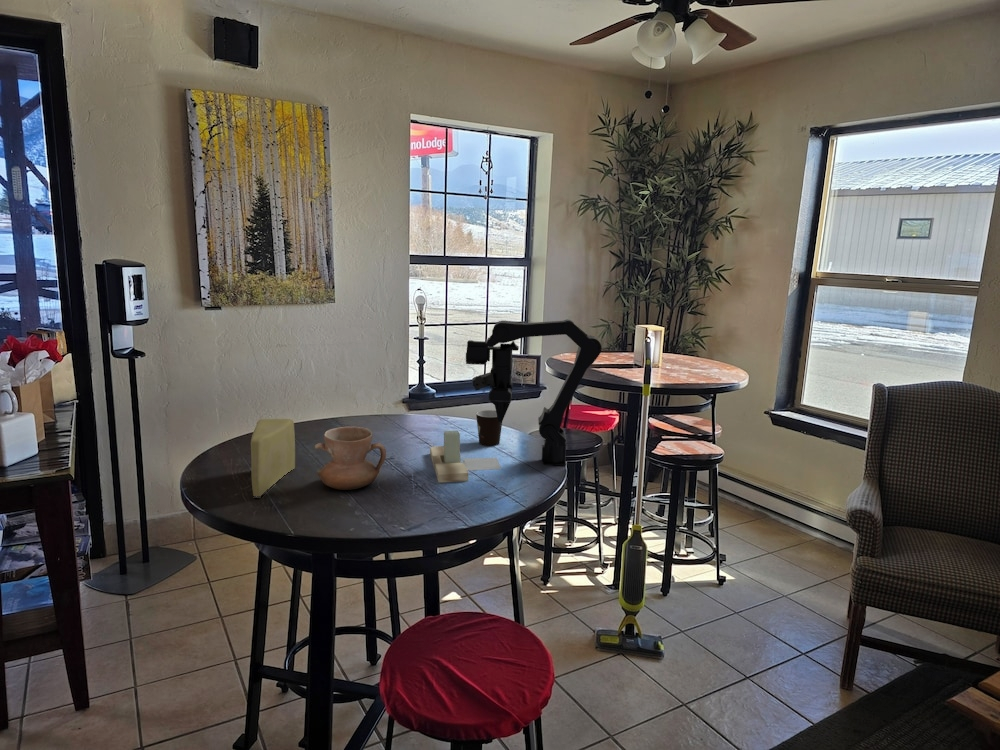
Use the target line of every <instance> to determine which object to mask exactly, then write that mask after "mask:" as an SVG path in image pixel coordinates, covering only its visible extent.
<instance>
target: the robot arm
mask: <svg viewBox="0 0 1000 750" xmlns="http://www.w3.org/2000/svg"><path fill="white" fill-rule="evenodd" d="M562 335H566V336H567V337H568V338H569V339H570V340H571V341H573V342H574V343H575V345H577V350H576V354H575V357H574V358H575V359H574V363H573V365H572V367H571V369H570V370H569V372H568V374H567V376H566V378H565V380H564V382H563V384H562V386H561V387H560V390H559V392H558V393H557V395H556V397H555V399H554V402H553V403H552V405H551V406H549V408H547V407H546V406H545V407H543V410H542V412H541V415H540V416H538V419H537V421H538V431H539V434H540V435H539V436H541V437H542V438H543V439H544V440H543V444H542V445H541V461H542V463H543V465H544V466H545V465H547V466H548V465H549V466H566V465H567V461H566V455H567V454H566V453H567V452H566V451H567V438H566V432H565V430H564V429H563V428H562V427H561V426H562V423H563V420H564V419H563V418H564V415H565V412H566V410H567V408H568V407H569V404H570V402H571V400H572V399H573V396H574V395H575V393H576V391H577V389H578V387H579V385H580V383H581V381H582V379H583V377H584V375H585V373H586V372H587V370H588V369H589V368H590V367H591V366H592V365H593V364H594V363H595V362H596V360H597V359H598V357H599V356H600V355H601V353H602V350H603V348H602V344H601V342H600V341H599V340H598V338H597V337H595V336H594V335H589V334H587V333H586V332H585V331H584V330H582V328H580V327H579V326H577V325H576V324H575V322H573V320H571V319H565V320H555V321H554V320H553V321H537V322H518V321H512V320H502V319H501V320H499V321H497V322H495V324H494V326H493V328H492V331H491V334H490V336H489V337H487V340H485V341H484V340H483V341H478V340H477V341H476V340H471V339H469V340H468V341H467V342H466V353H465V364H466V365H481V366H482V365H484V366H485V365H487V363H488V362H490V360H491V368H490V371H489V372H487V373H483V374H480V375H476V376H474V377H472V379H471V383H472V386H473V388H474V391H479V390H480V389H483V388H487V387H489V388H490V390H489V393H488V401H489V402H490V403H491V404H493V405H494V408H495V411H496V413H497V418H498V422H502V423H503V421H504V418H505V417H506V413H507V412H508V409H509V407H510V404H511V402H512V392H513V388H514V381H513V378H512V376H513V375H512V374H513V373H512V372H513V351H516V352H517V351H519V348H520V347H519V345H517V344H516V343H515V341H517V340H520V339H523V338H530V337H531V338H533V337H547V336H548V337H549V336H562ZM509 342H510V343H509ZM498 344H499V345H498ZM496 345H498V346H496ZM491 352H492V353H491Z"/></svg>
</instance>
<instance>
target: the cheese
mask: <svg viewBox="0 0 1000 750" xmlns="http://www.w3.org/2000/svg"><path fill="white" fill-rule="evenodd" d="M295 434H296V433H295V422H294V419H291V418H261V419H258V420H257V423H256V425H255V428H254V429H253V433H252V435H251V439H250V453H251V454H250V457H251V459H250V460H251V464H250V465H251V466H250V467H251V471H250V472H251V487H252V496H256V497H257V496H261V495H262V494H263V493H264V492H265V491H266V490H267V489H269V488H270V487H271V486H272V485H273V484H275V483H276V482H277V481H278V480H279V479H281V478H282V477H283V476H284V475H286V474H287V473H288V472H290V471H291V470H292V471H294V470H293V469H295V468H296V441H295V440H296V438H295V437H296V436H295ZM292 471H291V472H292ZM291 472H290V473H291ZM288 474H289V473H288ZM288 474H287V475H288ZM287 475H286V476H287ZM284 477H285V476H284ZM284 477H283V478H284ZM283 478H282V479H283ZM282 479H281V480H282ZM275 485H276V484H275Z"/></svg>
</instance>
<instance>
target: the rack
mask: <svg viewBox="0 0 1000 750" xmlns="http://www.w3.org/2000/svg"><path fill="white" fill-rule="evenodd" d="M429 454H430V455H429V456H430V458H431V462H432V465H433V469H434V472H435V475H436V479H437V483H452V482H454V483H456V482H469V470H468V471H467V469H466V466H465V463H464V461H463V462H460V463H444V445H443V446H442V445H441V446H440V445H439V446H438V445H437V446H436V445H435V446H429Z"/></svg>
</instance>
